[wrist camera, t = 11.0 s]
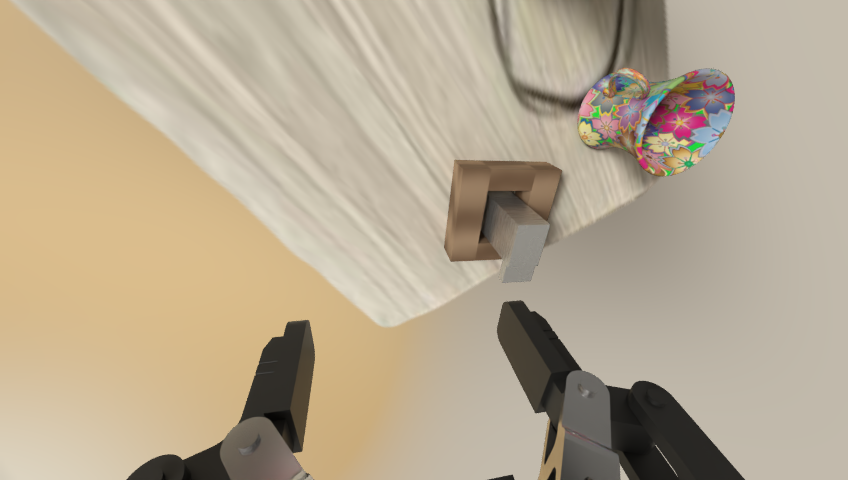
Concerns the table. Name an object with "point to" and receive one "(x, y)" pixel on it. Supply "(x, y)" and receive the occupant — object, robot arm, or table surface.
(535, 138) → the table surface
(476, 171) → the well block
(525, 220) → the grey rectangular block
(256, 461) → the robot arm
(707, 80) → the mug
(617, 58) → the table surface
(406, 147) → the table surface
